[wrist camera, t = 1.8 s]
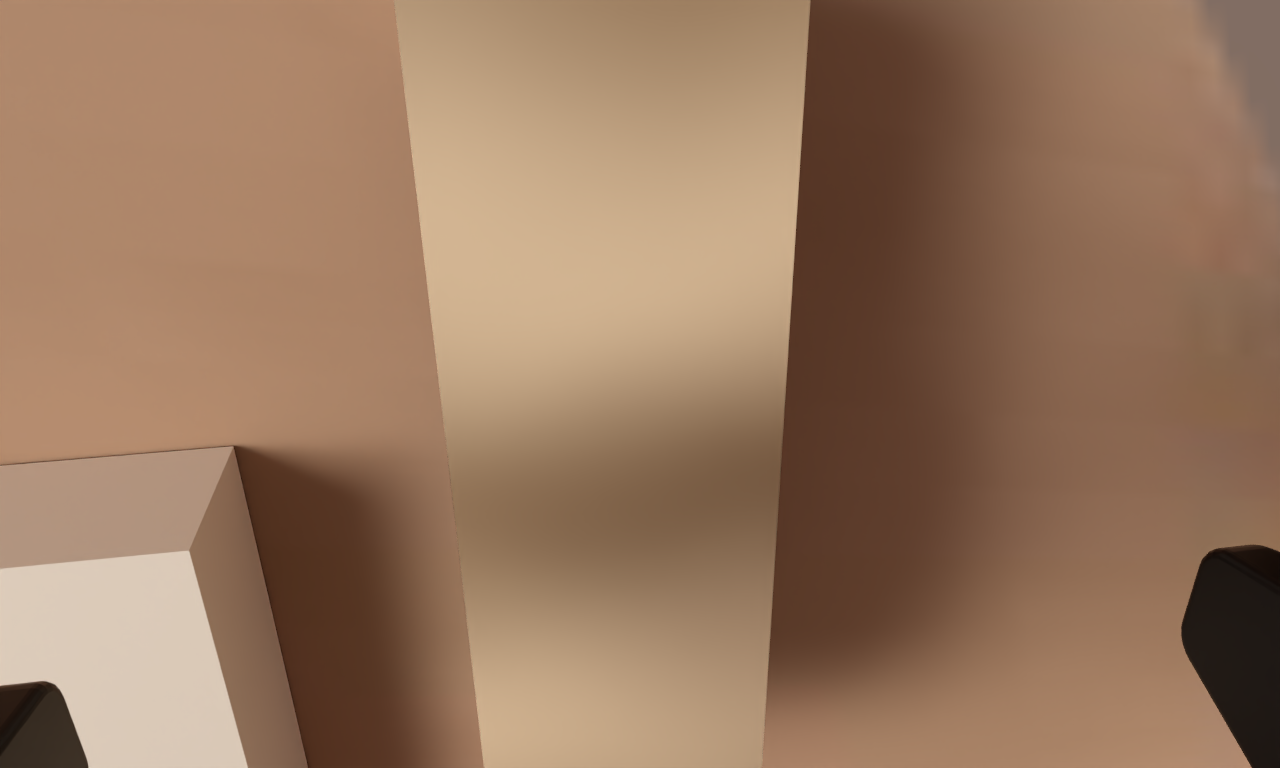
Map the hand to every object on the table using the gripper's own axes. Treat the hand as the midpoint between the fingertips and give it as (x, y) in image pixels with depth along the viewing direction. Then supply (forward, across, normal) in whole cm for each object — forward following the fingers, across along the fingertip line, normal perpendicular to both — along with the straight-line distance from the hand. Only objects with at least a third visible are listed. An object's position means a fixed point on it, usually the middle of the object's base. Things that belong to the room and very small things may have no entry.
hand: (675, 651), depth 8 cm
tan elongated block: (+10, 0, +2) cm, 10 cm away
